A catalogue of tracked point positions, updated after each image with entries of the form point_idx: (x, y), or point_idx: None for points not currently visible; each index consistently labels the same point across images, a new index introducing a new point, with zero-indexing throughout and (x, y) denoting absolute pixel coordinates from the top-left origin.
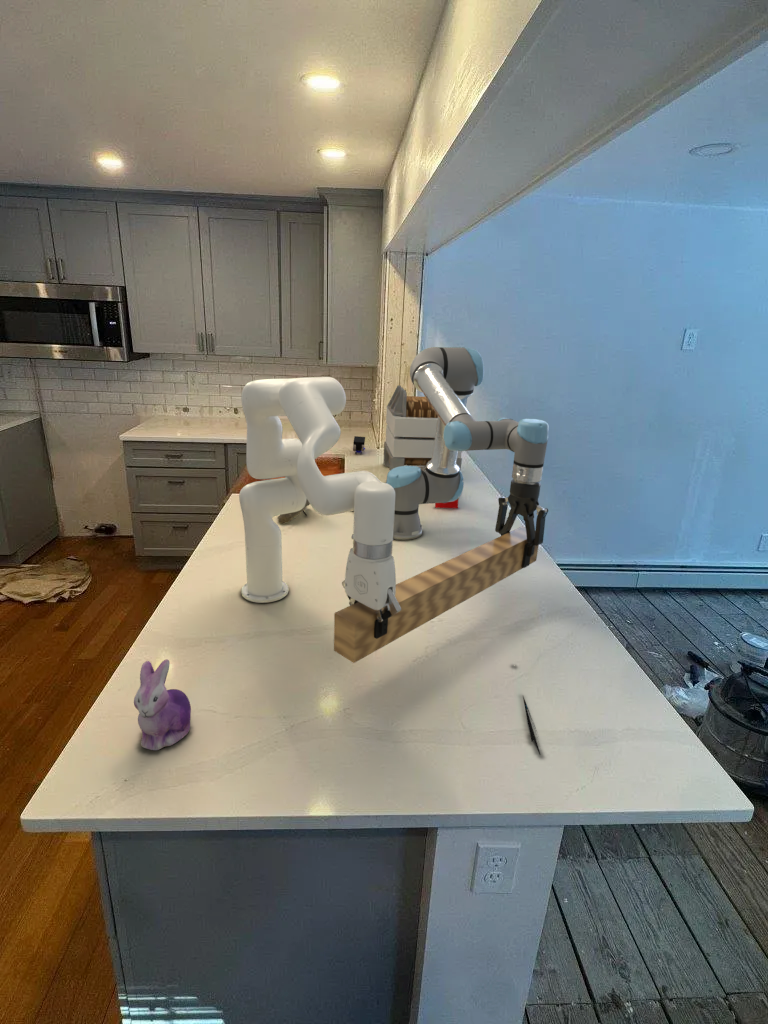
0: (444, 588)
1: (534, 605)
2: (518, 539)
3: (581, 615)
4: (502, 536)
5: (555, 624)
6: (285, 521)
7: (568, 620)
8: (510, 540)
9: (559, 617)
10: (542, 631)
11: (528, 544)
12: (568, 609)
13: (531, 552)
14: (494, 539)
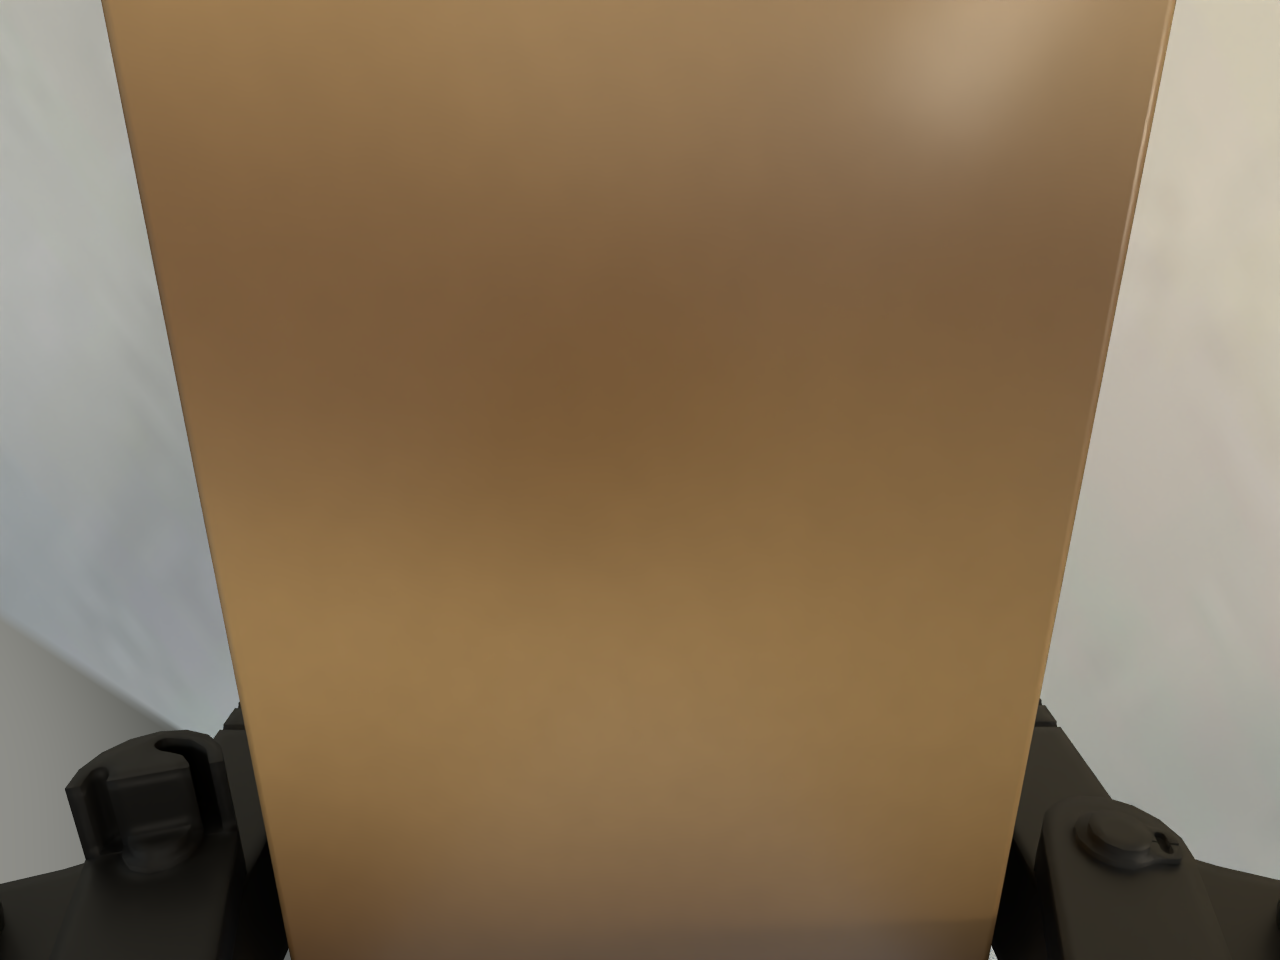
0: None
1: None
2: (430, 769)
3: (82, 606)
4: (994, 582)
5: (94, 305)
6: None
7: (82, 455)
8: (560, 484)
9: (160, 444)
10: (69, 84)
11: (145, 780)
12: (207, 617)
13: (228, 719)
14: (1139, 3)
